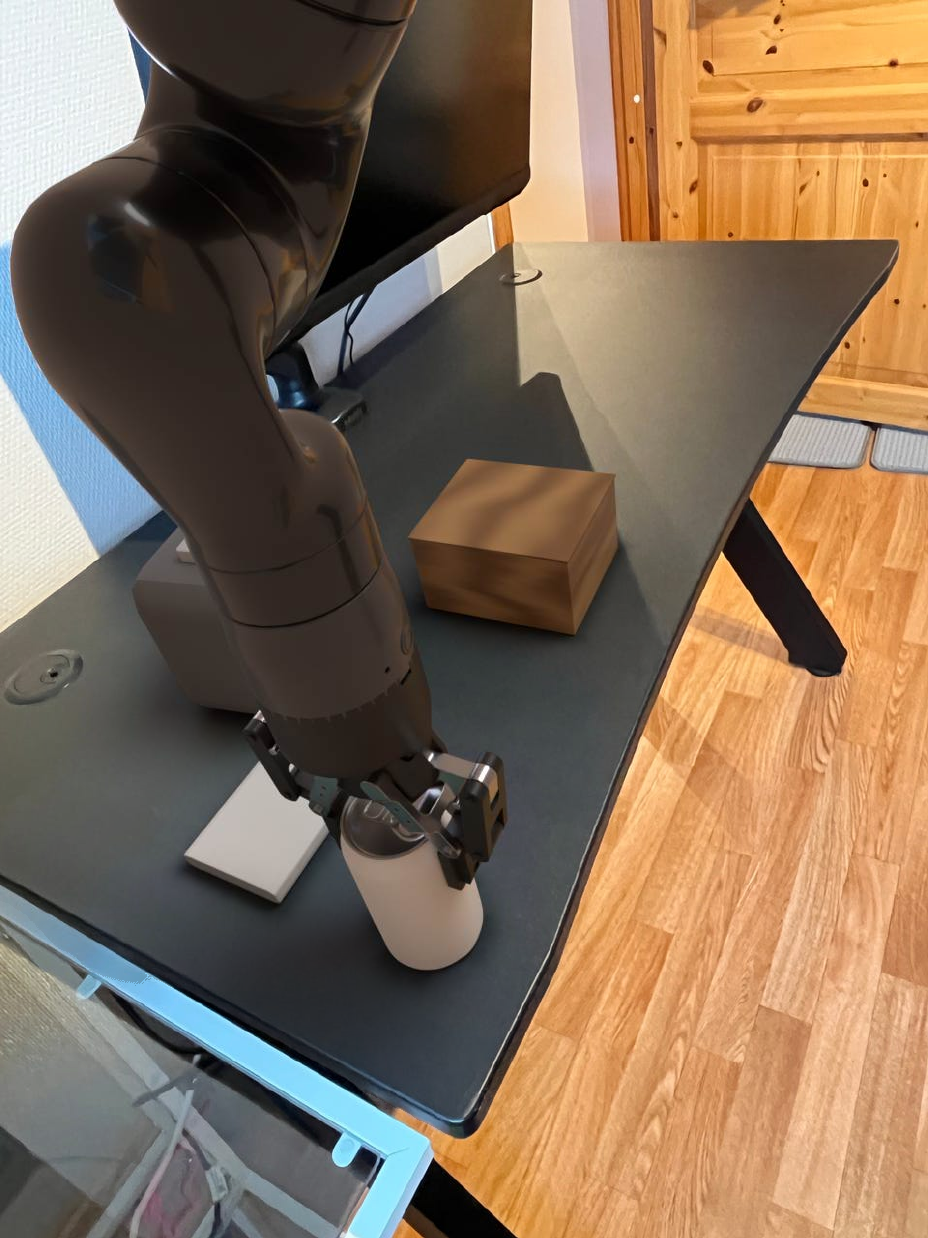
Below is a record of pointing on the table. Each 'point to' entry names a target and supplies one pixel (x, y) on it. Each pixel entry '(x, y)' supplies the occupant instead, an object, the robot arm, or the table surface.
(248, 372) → the robot arm
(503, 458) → the table surface
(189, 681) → the alarm clock
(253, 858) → the hard drive
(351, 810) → the can
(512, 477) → the wooden block
